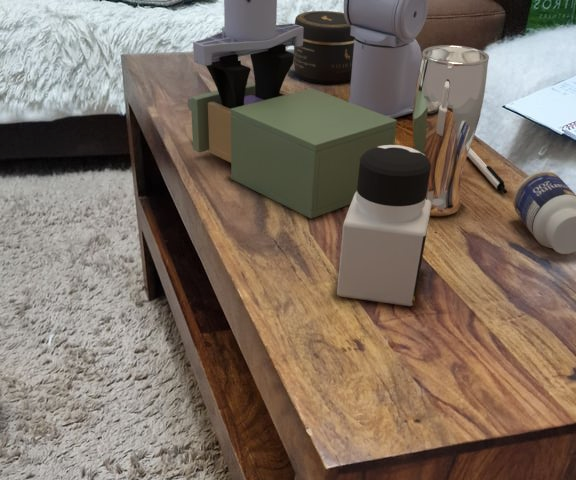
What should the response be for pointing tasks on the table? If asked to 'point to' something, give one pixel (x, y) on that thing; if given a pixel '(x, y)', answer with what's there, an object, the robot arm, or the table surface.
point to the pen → (487, 171)
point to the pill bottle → (548, 210)
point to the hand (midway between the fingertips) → (249, 122)
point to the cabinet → (305, 148)
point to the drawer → (214, 122)
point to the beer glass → (447, 117)
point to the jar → (324, 48)
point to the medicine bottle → (386, 227)
